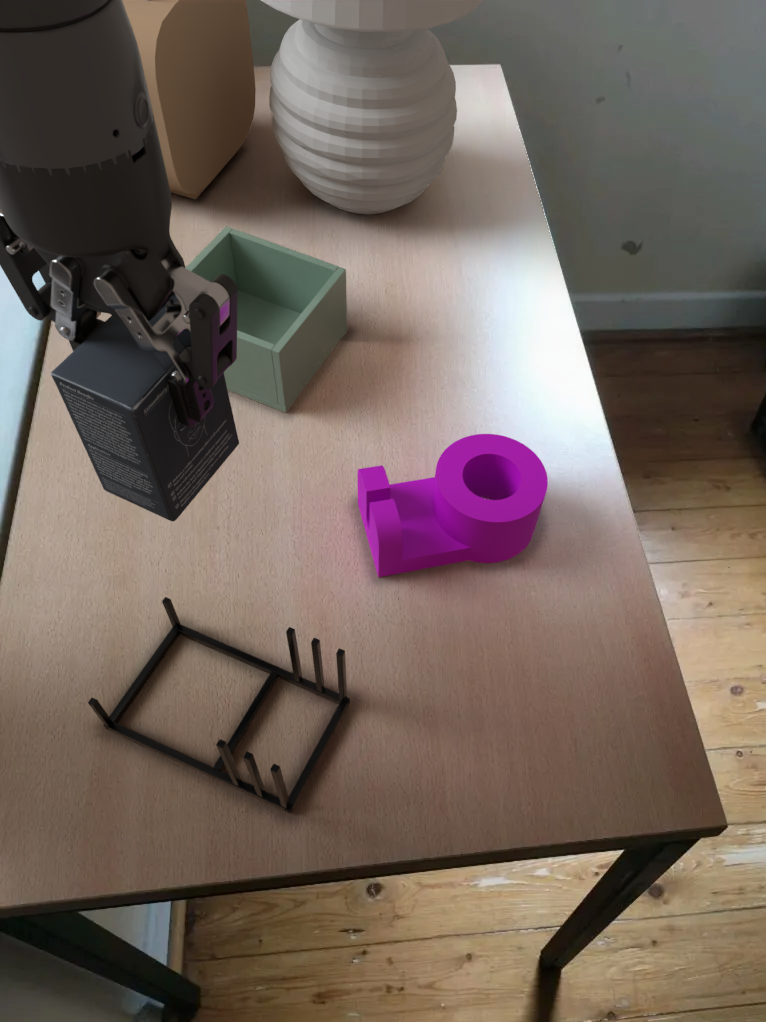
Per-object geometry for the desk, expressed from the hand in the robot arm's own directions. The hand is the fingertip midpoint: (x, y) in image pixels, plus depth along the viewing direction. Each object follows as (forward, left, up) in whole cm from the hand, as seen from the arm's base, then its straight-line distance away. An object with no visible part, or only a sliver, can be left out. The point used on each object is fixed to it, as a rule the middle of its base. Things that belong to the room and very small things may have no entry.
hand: (150, 397), depth 48 cm
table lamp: (-15, +59, -24) cm, 66 cm away
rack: (+7, -9, -24) cm, 26 cm away
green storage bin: (-12, +28, -24) cm, 39 cm away
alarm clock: (-35, +52, -24) cm, 67 cm away
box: (0, 0, -7) cm, 7 cm away
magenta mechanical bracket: (+15, +16, -24) cm, 33 cm away
